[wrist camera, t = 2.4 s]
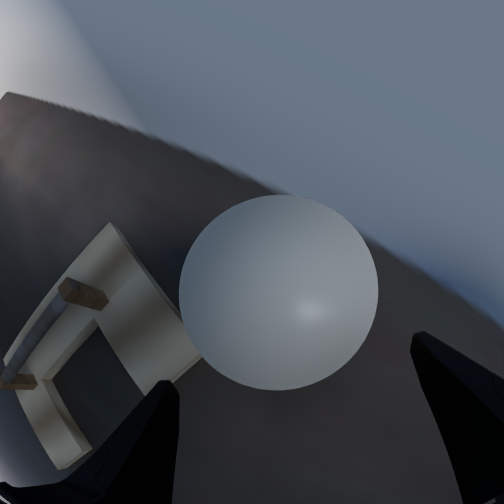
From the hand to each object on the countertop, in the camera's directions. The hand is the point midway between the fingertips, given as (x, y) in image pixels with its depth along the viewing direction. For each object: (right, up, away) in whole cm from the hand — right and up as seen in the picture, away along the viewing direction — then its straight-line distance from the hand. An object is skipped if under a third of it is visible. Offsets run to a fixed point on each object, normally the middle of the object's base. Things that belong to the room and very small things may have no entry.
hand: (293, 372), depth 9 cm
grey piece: (-17, -6, +11) cm, 21 cm away
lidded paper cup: (+1, -1, +10) cm, 10 cm away
